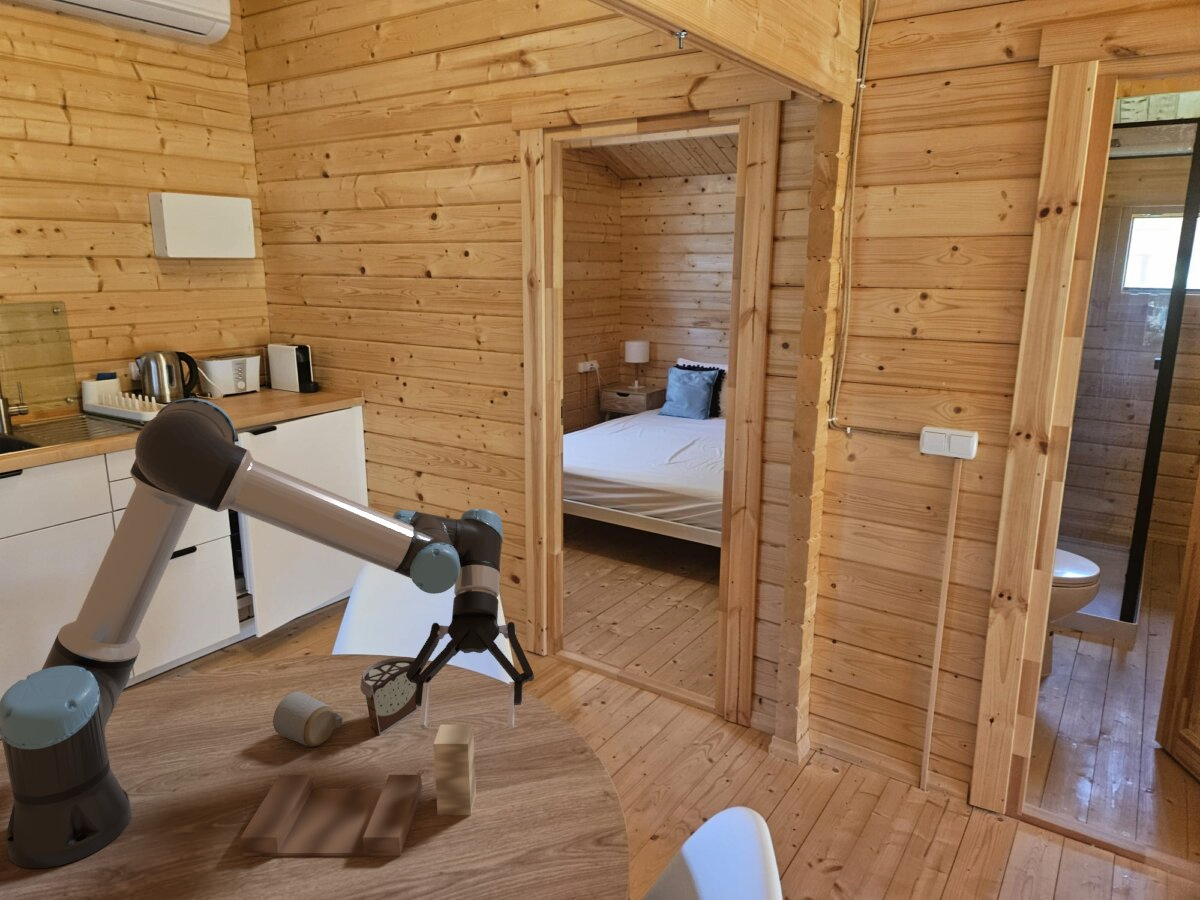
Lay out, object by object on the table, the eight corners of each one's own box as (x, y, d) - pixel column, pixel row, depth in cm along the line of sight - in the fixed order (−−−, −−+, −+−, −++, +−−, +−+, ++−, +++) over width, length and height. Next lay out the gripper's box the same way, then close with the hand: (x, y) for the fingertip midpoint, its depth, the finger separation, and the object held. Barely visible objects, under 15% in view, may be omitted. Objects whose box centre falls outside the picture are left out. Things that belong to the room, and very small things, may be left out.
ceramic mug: (307, 757, 135) (304, 715, 133) (273, 743, 139) (270, 702, 137) (354, 726, 144) (351, 687, 142) (321, 714, 148) (318, 676, 146)
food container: (398, 697, 153) (395, 649, 151) (422, 706, 150) (420, 657, 148) (348, 729, 143) (344, 677, 140) (373, 739, 140) (369, 687, 137)
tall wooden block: (437, 815, 121) (433, 743, 118) (443, 793, 125) (440, 724, 123) (471, 815, 120) (467, 743, 118) (476, 793, 125) (473, 724, 123)
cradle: (242, 856, 112) (240, 837, 112) (281, 791, 126) (279, 774, 125) (400, 855, 112) (399, 837, 112) (422, 791, 126) (421, 774, 125)
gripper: (551, 604, 140) (548, 731, 129) (407, 605, 140) (392, 732, 129) (548, 588, 133) (545, 719, 122) (397, 589, 133) (381, 721, 122)
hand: (467, 726), depth 125 cm, fingers open, 13 cm apart
